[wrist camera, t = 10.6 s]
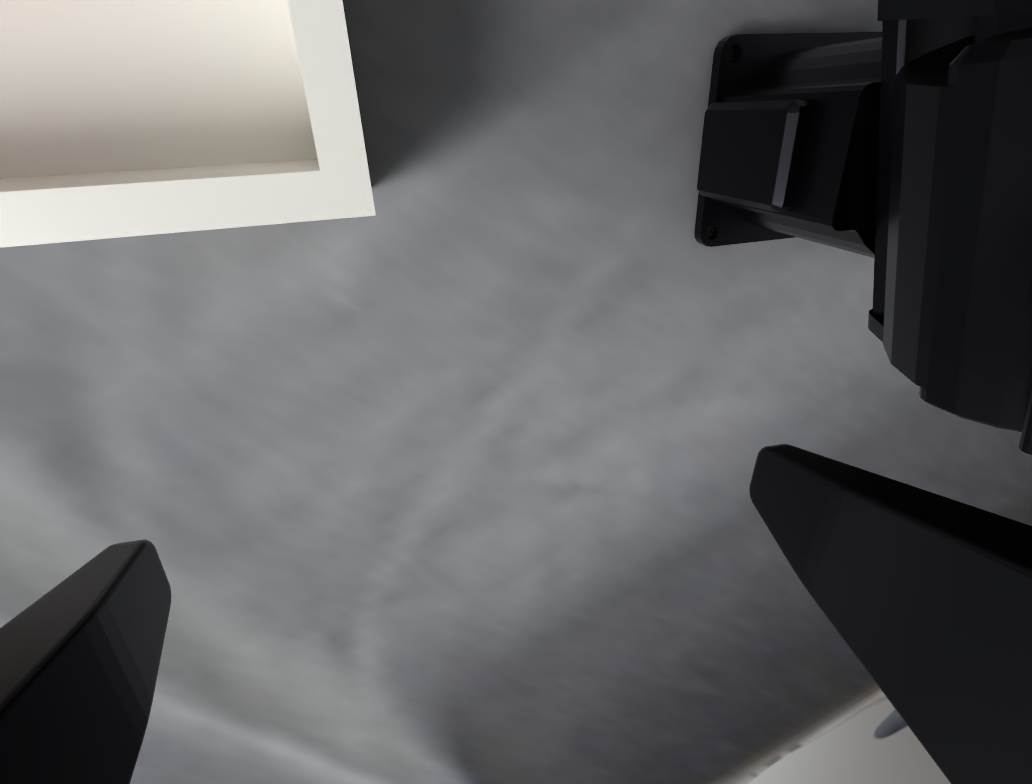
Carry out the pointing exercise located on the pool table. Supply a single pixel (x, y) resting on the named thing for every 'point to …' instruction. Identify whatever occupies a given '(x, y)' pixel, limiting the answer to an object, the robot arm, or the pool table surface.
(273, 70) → the bin
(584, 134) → the pool table surface
